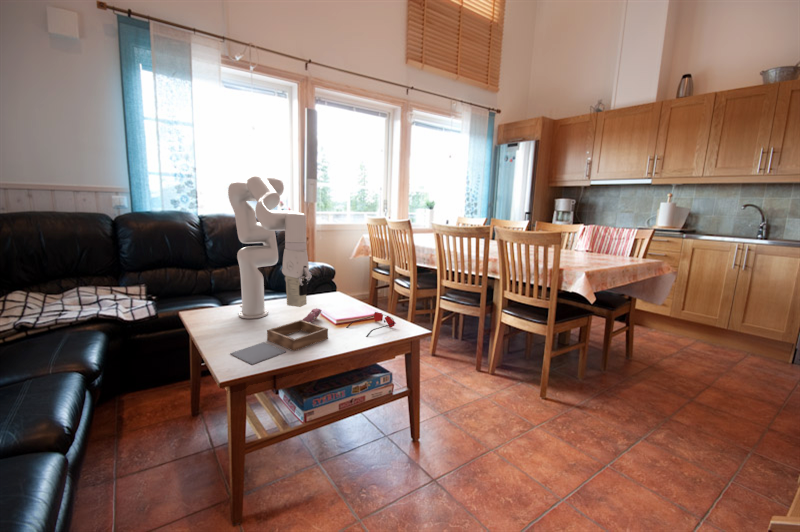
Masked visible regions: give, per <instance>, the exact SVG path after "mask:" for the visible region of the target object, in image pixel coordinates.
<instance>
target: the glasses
mask: <svg viewBox="0 0 800 532" xmlns="http://www.w3.org/2000/svg"><path fill="white" fill-rule="evenodd" d="M384 316H385V317H384ZM370 318H373V319H374V321H375V322H379V321H380V322H382V321H383V323H384V324H386V325H383V326H380V327H376V328H373V329H371V330H370V331H369V332H368V333H367V335H366V336H365V337H366V338H368V337H369V335H370V334H371V333H372V332H373V331H376V330H378V329H382V328H386V327H389V328H391V327H394V326H396V324H397V323H396V322H395V319H394V318H393V317H391V316H390V315H386V314H383V313H380V312H378V311H377V312H376V311H374V313H373V315H371V316H369V317H364V318H360V319H357V320H353V321H351V322H350V323H349V324H348V325H347V326H346V329H348V328H349V327H350V326H351V325H352V324H353V323H356V322H358V321H362V320H365V319H370Z"/></svg>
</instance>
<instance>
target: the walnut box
mask: <svg viewBox="0 0 800 532" xmlns="http://www.w3.org/2000/svg"><path fill="white" fill-rule="evenodd" d="M328 330H329V329H328V328H327V327H324V326H321V325H319V324H315V323H313V322H312V323H311V322H306V321H303V320H302V319H299V320H296V321H293V322H289V323H286V324H283V325H279V326H276V327H273V328H270V329H266V338H267V341H269V342H270V343H274V344H275V345H278V346H280V347H283V348H285V349H288V350H290V349H291V351H293V352H295V351H298V349H299V350H301V349H305V348H306V346H307V347H309V346H312V345H314V344H317V343H319V342H322V341H324V340H326V339H329V336H328V335H329V331H328ZM299 331H300V332H301V331H302V332H305V333H308V334H305V335H303V336H300V337H296V338H293V337H290V336H288V335H291V334H294V333H296V332H299Z"/></svg>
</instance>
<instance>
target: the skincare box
mask: <svg viewBox="0 0 800 532" xmlns="http://www.w3.org/2000/svg"><path fill="white" fill-rule="evenodd" d="M302 276H303V275H302ZM303 280H304V278H302V281H303ZM299 285H300V282H299V279H298V278H293V277H289V276H287V274H286V281H285V292H286V306H289V307H297V308H301V307H304V306H305V305H307V303H308V302H307V294H306V295H302V296H300V295H299Z"/></svg>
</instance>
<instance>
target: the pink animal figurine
mask: <svg viewBox="0 0 800 532" xmlns="http://www.w3.org/2000/svg"><path fill="white" fill-rule="evenodd" d="M321 313H322V310H321V308H317V307H316V308H312V309H311V310H310V312H308V314H307V315H306V316H305V317H304V318H303V319H301V320H303V321H306V322H309V323H312V324H313V323H314V321H316V320H317V319H318V317H319V316H320V315H321Z"/></svg>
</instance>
